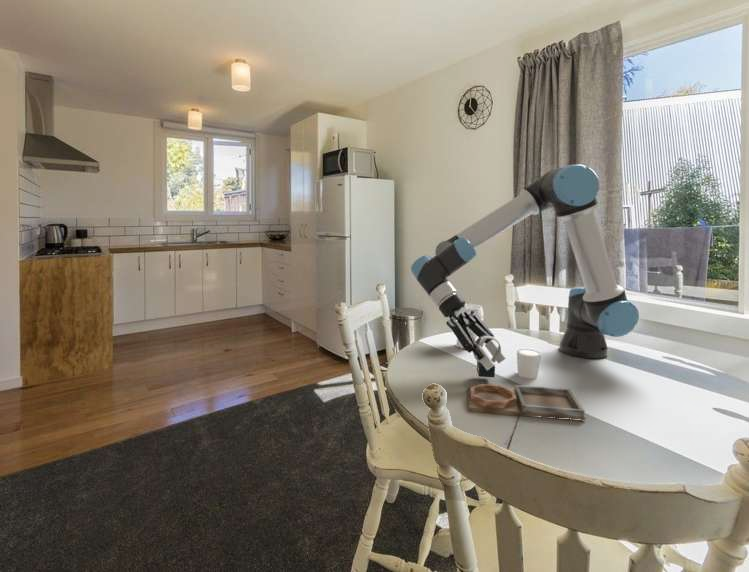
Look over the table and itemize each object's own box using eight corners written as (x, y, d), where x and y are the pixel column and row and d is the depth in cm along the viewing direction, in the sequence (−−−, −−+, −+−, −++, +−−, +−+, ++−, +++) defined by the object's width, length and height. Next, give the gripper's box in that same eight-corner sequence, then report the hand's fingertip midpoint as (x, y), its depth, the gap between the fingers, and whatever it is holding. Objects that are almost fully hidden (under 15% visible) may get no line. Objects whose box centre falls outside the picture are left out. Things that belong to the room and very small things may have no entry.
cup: (485, 351, 146) (487, 309, 143) (454, 350, 146) (456, 309, 143) (478, 342, 156) (480, 303, 154) (450, 342, 156) (451, 303, 154)
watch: (469, 369, 122) (471, 333, 121) (497, 370, 121) (500, 334, 120) (471, 376, 117) (473, 338, 115) (501, 377, 116) (503, 339, 114)
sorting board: (569, 398, 108) (570, 388, 107) (584, 421, 95) (585, 411, 95) (467, 389, 112) (467, 381, 112) (469, 411, 100) (469, 401, 99)
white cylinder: (537, 380, 119) (538, 357, 118) (512, 376, 122) (514, 353, 121) (541, 373, 125) (543, 351, 124) (518, 369, 128) (519, 347, 127)
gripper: (456, 302, 133) (502, 362, 125) (421, 313, 119) (471, 381, 111) (471, 288, 129) (520, 348, 121) (438, 297, 114) (490, 366, 107)
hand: (496, 364), depth 116 cm, fingers closed on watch, 7 cm apart
